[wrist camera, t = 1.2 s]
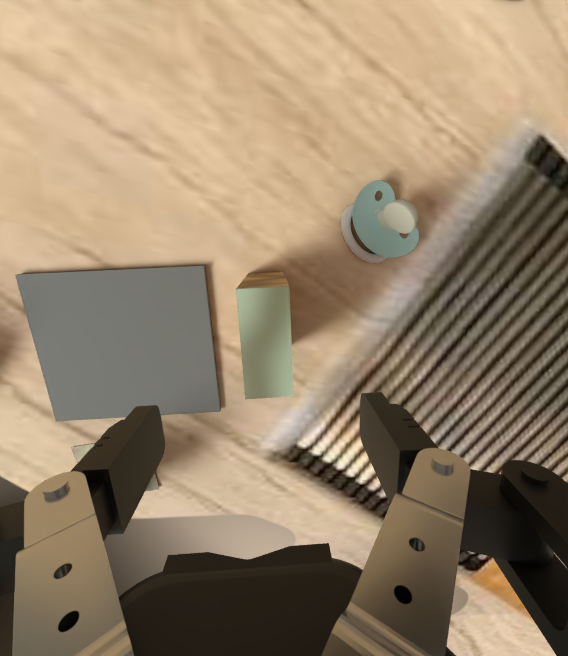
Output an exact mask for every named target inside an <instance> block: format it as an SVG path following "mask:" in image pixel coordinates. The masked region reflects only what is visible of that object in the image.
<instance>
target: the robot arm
mask: <svg viewBox="0 0 568 656" xmlns="http://www.w3.org/2000/svg"><path fill="white" fill-rule="evenodd" d="M360 436H361V441H362V444H363V446H364V448H365V451H366V453H367V455H368V457H369V459H370V461H371V464H372V466H373V468H374V470H375V472H376V474H377V476H378V479H379V481H380V483H381V485H382V487H383V489H384V492H385V494H386V496H387V498H388V500H389V502H390V507H389V510H388V512H387V514H386V517H385V519H384V522H383V524H382V526H381V529H380V531H379V534H378V536H377V538H376V541H375V543H374V546H373V548H372V550H371V553H370V555H369V557H368V560H367V562H366V565H365V567H364V569H363V570H362V569H360V568H358V567H357V566H354V565H352V564H350V563H348V562H345V561H342V560H339V559H334V558H332V557H331V552H330V547H329V543H326V544H312V545H299V546H289V547H286V548H283V549H280V550H277V551H274V552H271V553H268V554H265V555H262V556H259V557H256V558H253V559H248V560H246V559H240V558H234V557H230V556H224V555H219V554H214V553H209V552H205V553H193V554H192V553H191V554H178V555H168V557H167V560H166V563H165V566H164V569H163V572H160V573H157V574H155V575H153V576H150V577H148V578H146V579H145V580H143V581H141V582H139V583H137V584H136V585H135V586H133V587H132V588H130V589H129V590H128V591H126V592H125V593H123V594H122V595H121V596H120V597H118V595H117V591H116V587H115V583H114V580H113V576H112V572H111V569H110V565H109V562H108V558H107V554H106V550H105V546H104V543H103V542H104V540H105V538H106V536H107V535H111V534H123V533H124V531H125V529H126V527H127V525H128V523H129V521H130V519H131V517H132V516H133V514H134V512H135V510H136V508H137V506H138V504H139V502H140V500H141V498H142V496H143V494H144V492H145V490H146V488H147V486H148V484H149V482H150V480H151V478H152V476H153V474H154V472H155V470H156V469H157V467H158V465H159V463H160V461H161V459H162V457H163V454H164V449H165V439H164V433H163V427H162V421H161V415H160V410H159V407H158V406H157V405H149V406H136V407H135V408H134V409H133V410H132V411H131V413H130V414H129V415H128V416H127V417H126V419H125V420H120V421H119V422H117V423H116V424H114V425H113V426H111V427H110V428H109V429H108V430H107V431H106V432H105V433H104V434H103V435H102V436H101V439H99V440H98V441H97V442H96V443H95V444H94V447H92V448H91V449H90V450H89V451H88V452H87V453H86V455H85V456H84V457H83V458H82V459H81V460H80V461H79V462H78V464H77V465H76V466H75V467H74V468H73V469H72V470H71V471H70V472H65V473H62V474H58V475H56V476H53V477H51V478H49V479H47V480H45V481H44V482H42V483H40V484H39V485H38V486H36V487H35V488H34V489H33V490H32V491H31V492H30V493H29V494H28V495H27V497H26V499H25V501H21V502H18V503H14V504H10V505H7V506H4V507H0V612H1V611H2V609H3V608H4V606H5V605H6V604H7V602H8V601H9V599H10V598H11V596H12V595H13V593H14V592H15V597H14V598H15V599H14V628H13V656H456V655H455V654H454V653H453V652H452V651H450V650H449V649H448V648H447V647H446V646H447V639H448V631H449V624H450V617H451V610H452V603H453V595H454V588H455V581H456V574H457V566H458V559H459V552H460V549H462V550H466V551H470V552H474V553H479V554H483V555H487V556H492V557H493V558H494V560H495V562H496V563H497V565H498V566H499V568H500V569H501V571H502V572H503V574H504V575H505V577H506V578H507V580H508V582H509V583H510V585H511V586H512V588H513V589H514V591H515V592H516V594H517V595H518V597H519V598H520V600H521V602H522V603H523V605H524V606H525V608H526V609H527V611H528V612H529V614H530V615H531V617H532V619H533V620H534V622H535V623H536V625H537V626H538V628H539V629H540V631H541V632H542V634H543V635H544V637H545V639H546V640H547V642H548V643H549V645H550V646H551V648H552V649H553V651H554V652H555V654H556V655H557V656H568V570H567V569H568V483H566V482H565V481H564V480H563V479H562V478H561V477H559V476H558V475H557V474H555V473H554V472H552V471H550V470H549V469H547V468H545V467H542V466H540V465H537V464H535V463H531V462H527V461H521V460H512V461H508V462H506V463H504V464H503V466H502V471H501V474H495V473H489V472H483V471H477V470H472V469H470V467H469V466H468V464H467V463H466V462H465V461H464V460H463V459H462V458H461V457H459V456H458V455H456V454H454V453H452V452H450V451H447V450H444V449H439V448H438V447H437V446H436V445H435V443H434V442H433V441H432V440H431V439H430V437H429V436H428V435H427V434H426V433H425V431H424V430H423V429H422V428H421V427H420V425H419V424H418V423H417V422H416V420H414V418H413V417H412V416H411V414H410V413H409V412H408V411H407V410H406V409H404V408H402V407H401V406H399V405H397V404H390V403H389V402H388V400H387V399H386V398H385V396H384V395H383V394H382V393H381V392H376V393H362V394H361V400H360ZM554 553H555V554H556V555H557V556H558V557H559V558H560V560H561V561H562V562H563V563H564V564H565V566H566V567H567V568H566V567H565V566H564V565H563V564H562V563H561V561H560V560H559V559H558V558H557V557H556V556H555V554H554Z"/></svg>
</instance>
